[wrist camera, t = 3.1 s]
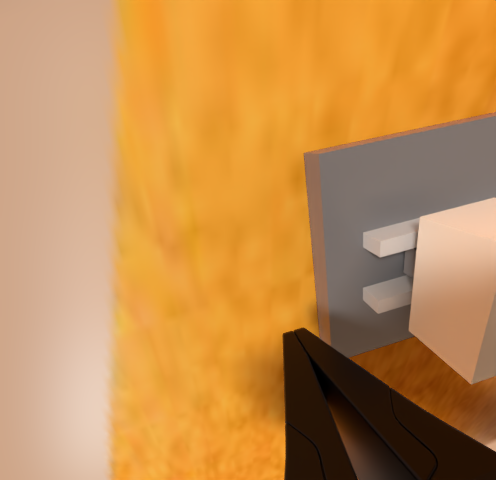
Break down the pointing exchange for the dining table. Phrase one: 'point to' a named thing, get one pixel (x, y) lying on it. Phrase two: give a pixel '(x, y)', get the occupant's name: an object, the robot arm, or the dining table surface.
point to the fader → (456, 287)
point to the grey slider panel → (386, 221)
